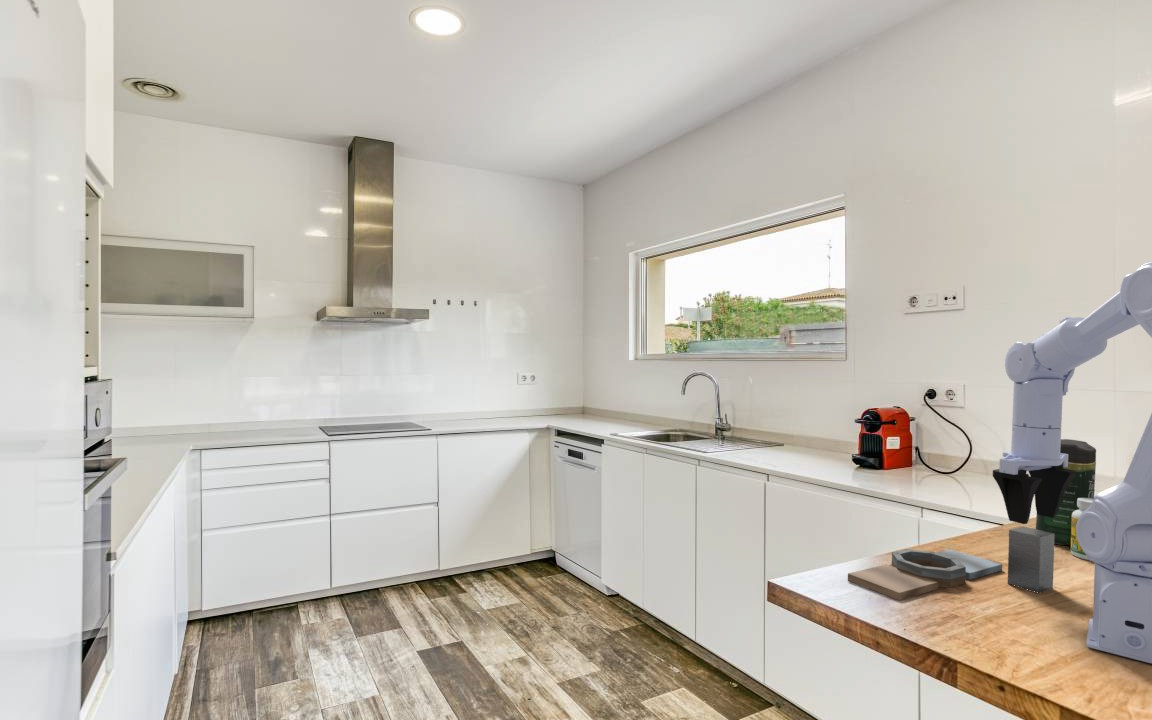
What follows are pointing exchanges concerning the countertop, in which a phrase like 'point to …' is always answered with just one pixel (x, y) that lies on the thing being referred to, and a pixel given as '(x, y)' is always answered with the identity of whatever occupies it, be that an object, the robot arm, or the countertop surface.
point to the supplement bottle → (1075, 547)
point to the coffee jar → (1071, 489)
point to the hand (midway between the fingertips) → (1032, 519)
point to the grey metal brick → (1031, 559)
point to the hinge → (923, 572)
